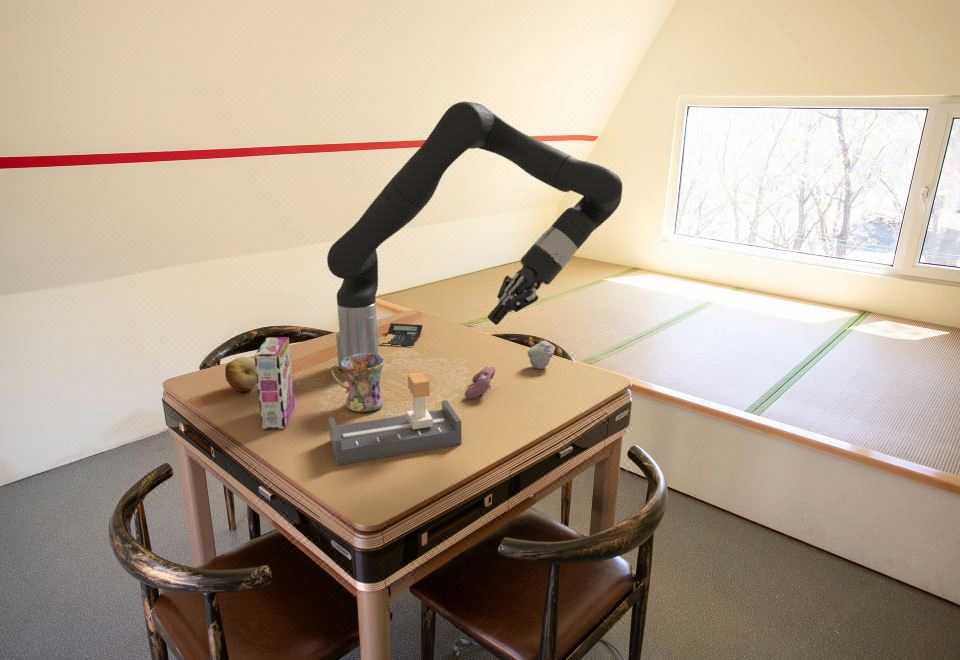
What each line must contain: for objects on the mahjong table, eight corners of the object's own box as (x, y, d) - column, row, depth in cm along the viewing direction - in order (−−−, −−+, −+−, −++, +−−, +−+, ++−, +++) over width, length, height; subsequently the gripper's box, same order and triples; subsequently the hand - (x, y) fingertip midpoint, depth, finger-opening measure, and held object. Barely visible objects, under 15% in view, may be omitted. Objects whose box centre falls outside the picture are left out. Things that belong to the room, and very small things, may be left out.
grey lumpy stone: (557, 371, 163) (558, 344, 161) (530, 373, 161) (531, 347, 159) (549, 362, 169) (550, 336, 166) (523, 364, 167) (524, 339, 165)
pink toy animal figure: (480, 407, 147) (494, 382, 145) (462, 397, 147) (475, 372, 145) (488, 389, 156) (501, 366, 154) (471, 380, 157) (484, 356, 154)
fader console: (446, 421, 137) (446, 400, 135) (461, 443, 128) (461, 421, 126) (330, 440, 129) (328, 417, 128) (337, 465, 121) (335, 441, 119)
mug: (391, 398, 148) (389, 354, 144) (379, 416, 139) (376, 370, 136) (341, 395, 150) (337, 351, 146) (325, 412, 141) (321, 367, 138)
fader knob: (426, 415, 132) (424, 371, 129) (433, 426, 128) (431, 380, 124) (406, 418, 131) (405, 374, 128) (412, 429, 126) (411, 383, 123)
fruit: (225, 398, 148) (221, 365, 145) (231, 384, 156) (226, 352, 153) (260, 395, 149) (256, 363, 147) (264, 381, 157) (260, 350, 154)
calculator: (379, 346, 181) (378, 336, 180) (391, 332, 192) (391, 322, 191) (412, 348, 179) (411, 338, 178) (422, 334, 190) (422, 324, 189)
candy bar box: (286, 429, 134) (278, 354, 129) (261, 430, 133) (252, 355, 128) (296, 405, 144) (289, 335, 139) (273, 406, 144) (265, 336, 139)
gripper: (523, 237, 134) (467, 301, 134) (551, 249, 122) (490, 319, 122) (546, 260, 137) (492, 323, 137) (576, 274, 125) (516, 343, 125)
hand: (491, 321), depth 130 cm, fingers closed
